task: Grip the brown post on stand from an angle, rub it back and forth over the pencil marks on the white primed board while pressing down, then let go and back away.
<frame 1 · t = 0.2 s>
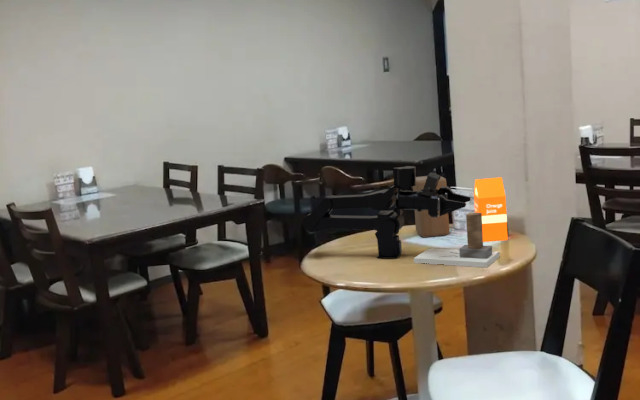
hand: (468, 201, 198), 17 cm above the table, tool horizontal, fingers open, 9 cm apart
orange juice: (491, 239, 220), on the table
wooden block: (432, 234, 235), on the table
brown post on stand: (475, 255, 194), point 2 cm above the table, touching primed board
primed board: (456, 259, 198), on the table
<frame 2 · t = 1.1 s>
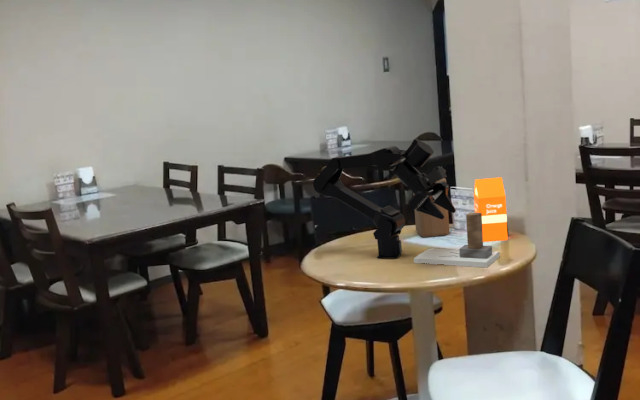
hand: (449, 215, 196), 13 cm above the table, tool tilted 45°, fingers open, 9 cm apart
nothing on the table moved.
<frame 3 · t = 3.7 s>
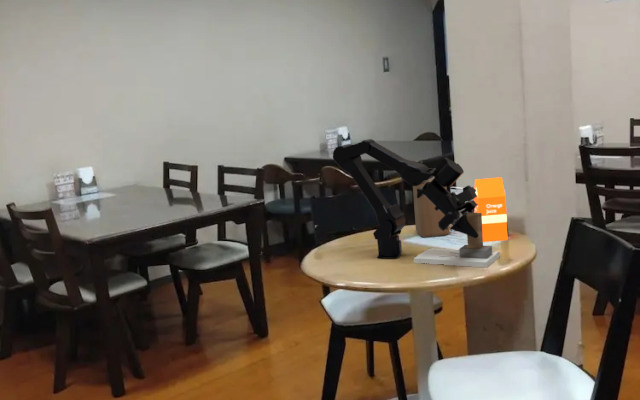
hand: (479, 235, 193), 8 cm above the table, tool tilted 45°, fingers closed on brown post on stand, 3 cm apart
brown post on stand: (475, 255, 194), point 2 cm above the table, touching gripper, primed board
everything else where it was.
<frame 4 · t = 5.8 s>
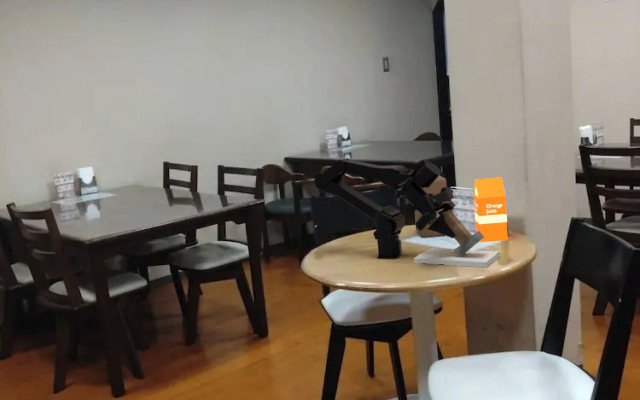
hand: (456, 235, 196), 7 cm above the table, tool tilted 45°, fingers closed on brown post on stand, 3 cm apart
brown post on stand: (471, 247, 195), point 4 cm above the table, tilted 40°, touching gripper
everything else where it was.
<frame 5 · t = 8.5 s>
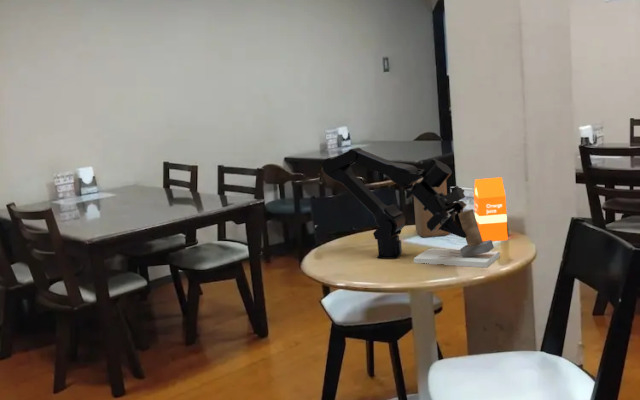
hand: (467, 235, 195), 7 cm above the table, tool tilted 45°, fingers closed on brown post on stand, 3 cm apart
brown post on stand: (478, 252, 194), point 3 cm above the table, tilted 15°, touching gripper, primed board
everything else where it was.
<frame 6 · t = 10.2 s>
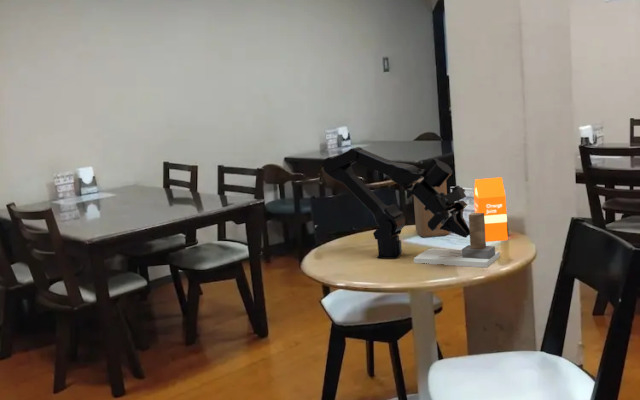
hand: (468, 235, 194), 8 cm above the table, tool tilted 45°
brown post on stand: (478, 256, 194), point 1 cm above the table, touching primed board
everything else where it was.
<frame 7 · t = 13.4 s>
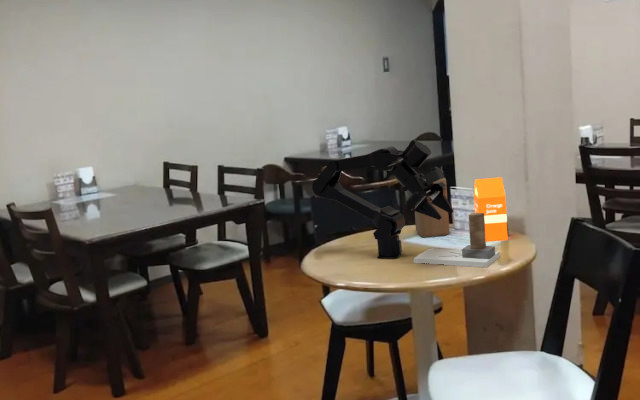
hand: (446, 215, 197), 13 cm above the table, tool tilted 45°, fingers open, 9 cm apart
nothing on the table moved.
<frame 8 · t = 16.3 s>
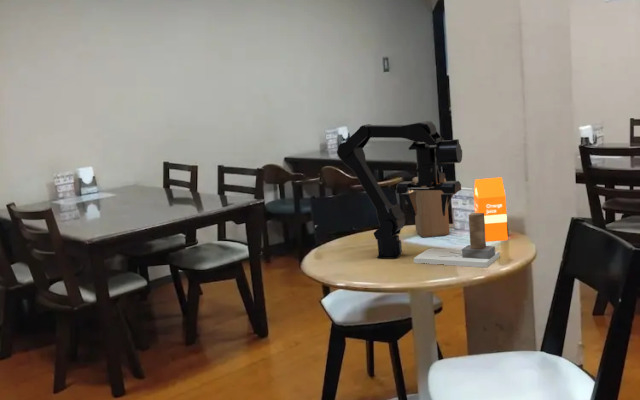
hand: (430, 215, 201), 13 cm above the table, tool pointing down, fingers open, 9 cm apart
nothing on the table moved.
at the end: brown post on stand touching primed board; brown post on stand tilted 0°; brown post on stand inside the target area on the primed board (3.8 cm from its centre), point 1.5 cm above the primed board's base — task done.
